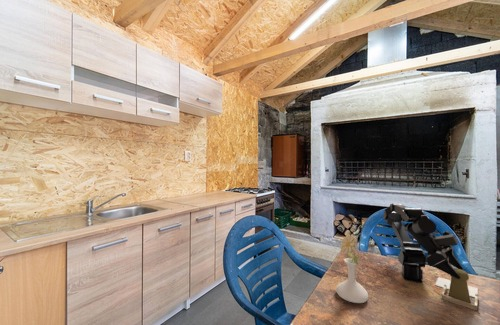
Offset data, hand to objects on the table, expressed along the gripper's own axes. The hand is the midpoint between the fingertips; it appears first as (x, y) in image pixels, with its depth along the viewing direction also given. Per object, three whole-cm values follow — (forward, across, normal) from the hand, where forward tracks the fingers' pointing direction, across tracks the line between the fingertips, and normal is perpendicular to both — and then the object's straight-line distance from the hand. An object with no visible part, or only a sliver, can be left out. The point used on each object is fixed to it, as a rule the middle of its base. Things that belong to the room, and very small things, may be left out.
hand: (460, 273), depth 79 cm
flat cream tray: (+6, 0, +7) cm, 10 cm away
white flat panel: (+5, +10, +9) cm, 14 cm away
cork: (+7, 0, +7) cm, 10 cm away
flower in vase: (-12, -29, +26) cm, 41 cm away
